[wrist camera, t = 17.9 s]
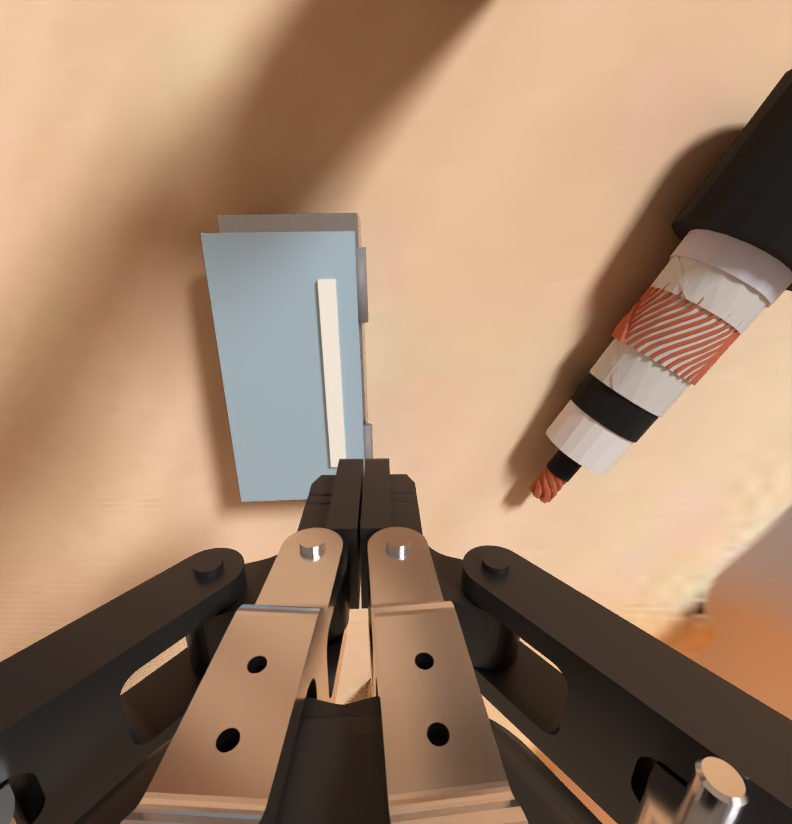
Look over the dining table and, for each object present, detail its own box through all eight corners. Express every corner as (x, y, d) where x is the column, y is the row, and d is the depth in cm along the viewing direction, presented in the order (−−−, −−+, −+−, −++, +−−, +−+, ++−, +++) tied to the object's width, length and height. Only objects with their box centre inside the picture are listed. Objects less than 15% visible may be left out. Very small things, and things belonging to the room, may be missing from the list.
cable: (503, 448, 45) (481, 477, 36) (756, 112, 33) (817, 28, 24) (588, 509, 43) (586, 556, 34) (896, 169, 30) (1024, 101, 21)
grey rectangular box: (237, 220, 33) (217, 214, 29) (360, 219, 33) (357, 213, 29) (268, 469, 40) (255, 493, 36) (369, 465, 40) (368, 489, 36)
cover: (206, 234, 29) (197, 232, 27) (365, 232, 29) (364, 230, 28) (245, 494, 36) (239, 504, 34) (374, 489, 36) (374, 499, 35)
